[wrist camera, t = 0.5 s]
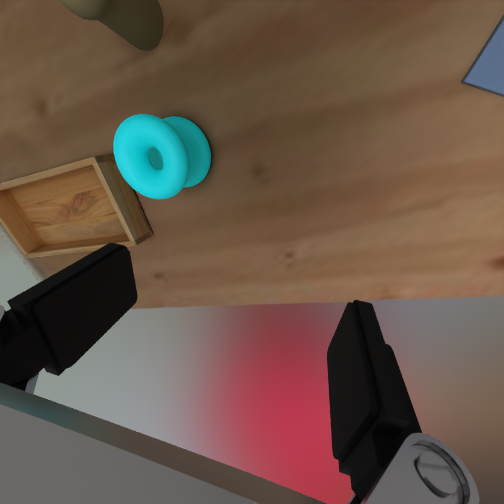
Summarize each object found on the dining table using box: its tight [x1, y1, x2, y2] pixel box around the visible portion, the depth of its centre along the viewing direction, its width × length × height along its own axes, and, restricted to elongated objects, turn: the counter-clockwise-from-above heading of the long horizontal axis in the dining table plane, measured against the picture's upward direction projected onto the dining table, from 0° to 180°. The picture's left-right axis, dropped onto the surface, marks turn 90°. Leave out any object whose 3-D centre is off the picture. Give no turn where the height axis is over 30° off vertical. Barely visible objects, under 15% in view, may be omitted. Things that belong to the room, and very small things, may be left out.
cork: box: [60, 0, 163, 50], centre depth 25 cm, size 6×6×11 cm
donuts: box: [113, 114, 211, 199], centre depth 32 cm, size 10×10×10 cm
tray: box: [0, 154, 153, 258], centre depth 45 cm, size 31×15×6 cm, turn 103°
